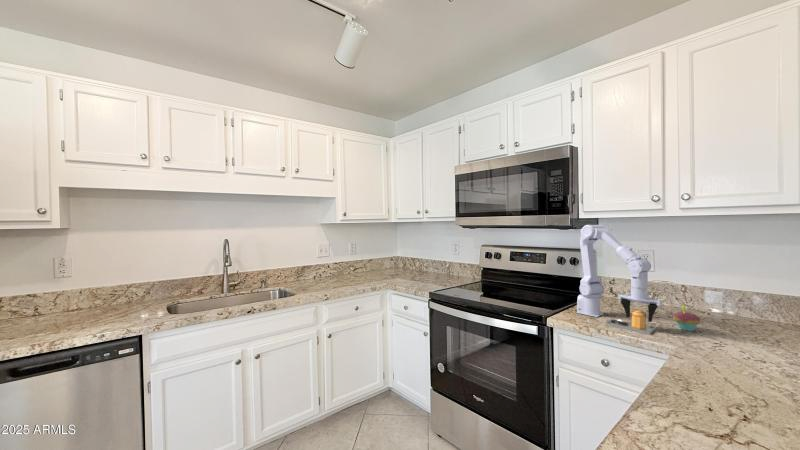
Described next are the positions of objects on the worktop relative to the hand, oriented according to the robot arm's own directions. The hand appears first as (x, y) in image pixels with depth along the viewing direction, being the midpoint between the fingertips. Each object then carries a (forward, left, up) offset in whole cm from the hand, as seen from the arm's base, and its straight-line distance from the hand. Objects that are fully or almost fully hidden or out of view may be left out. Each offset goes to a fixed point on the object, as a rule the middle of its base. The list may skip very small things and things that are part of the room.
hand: (638, 319), depth 136 cm
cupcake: (+13, +14, -4) cm, 20 cm away
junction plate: (-3, 0, -4) cm, 5 cm away
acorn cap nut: (0, 0, -3) cm, 3 cm away
